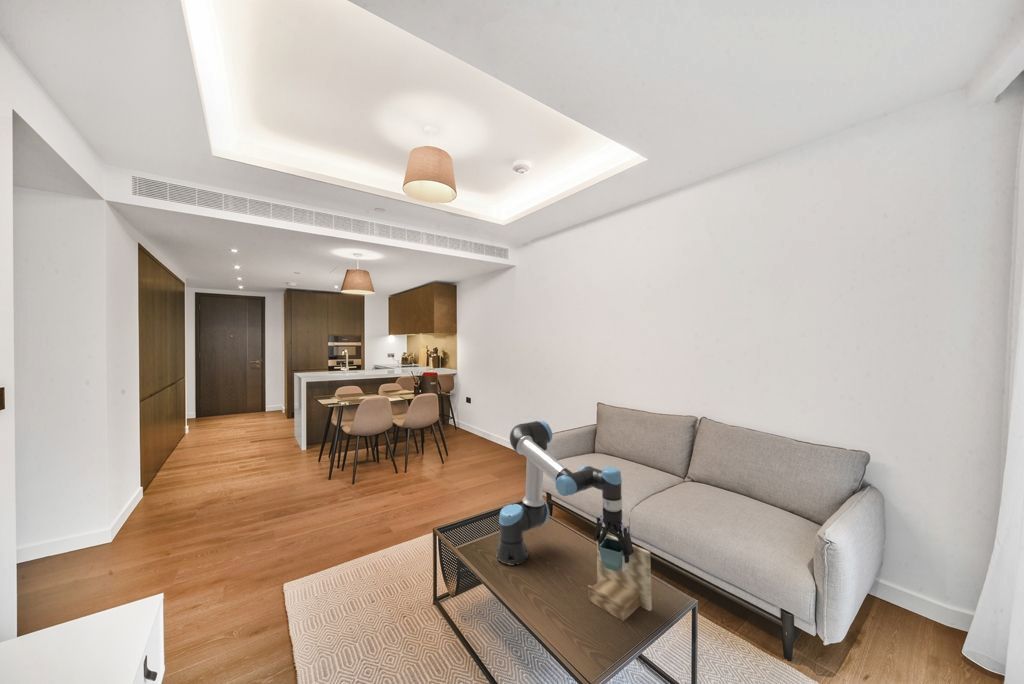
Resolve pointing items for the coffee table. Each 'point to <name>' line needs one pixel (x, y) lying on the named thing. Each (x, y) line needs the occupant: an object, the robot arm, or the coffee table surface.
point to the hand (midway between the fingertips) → (613, 564)
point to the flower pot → (611, 554)
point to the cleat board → (623, 585)
